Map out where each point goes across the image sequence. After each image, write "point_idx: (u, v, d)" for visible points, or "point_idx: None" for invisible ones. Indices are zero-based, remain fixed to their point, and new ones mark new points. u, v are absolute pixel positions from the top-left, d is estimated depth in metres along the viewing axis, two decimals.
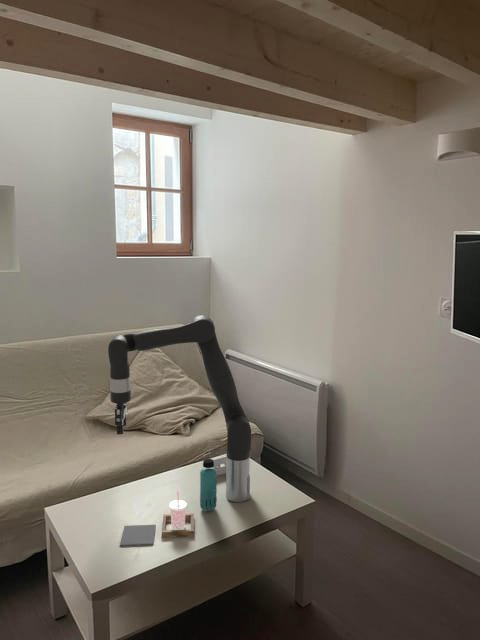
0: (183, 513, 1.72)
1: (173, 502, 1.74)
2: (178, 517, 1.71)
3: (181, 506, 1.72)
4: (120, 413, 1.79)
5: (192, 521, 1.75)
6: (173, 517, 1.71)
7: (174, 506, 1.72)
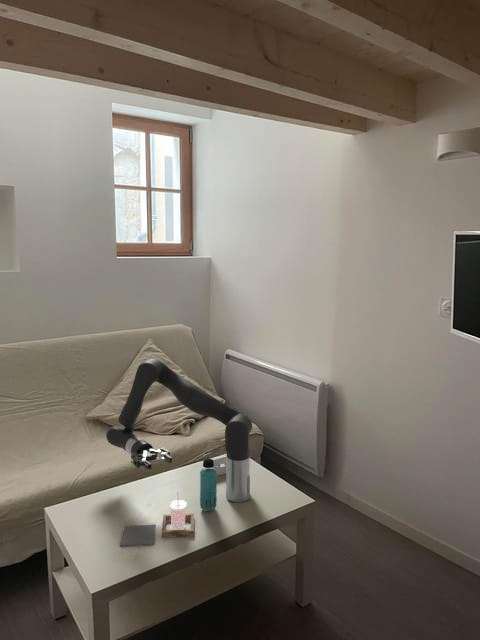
0: (183, 513, 1.72)
1: (173, 502, 1.74)
2: (178, 517, 1.71)
3: (181, 506, 1.72)
4: (132, 458, 1.81)
5: (192, 521, 1.75)
6: (173, 517, 1.71)
7: (174, 506, 1.72)
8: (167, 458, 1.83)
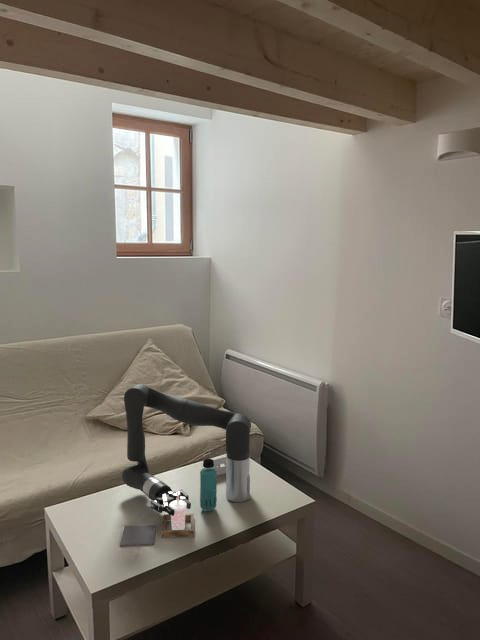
0: (183, 513, 1.72)
1: (173, 502, 1.74)
2: (178, 517, 1.71)
3: (181, 506, 1.72)
4: (152, 503, 1.73)
5: (192, 521, 1.75)
6: (173, 517, 1.71)
7: (174, 506, 1.72)
8: None
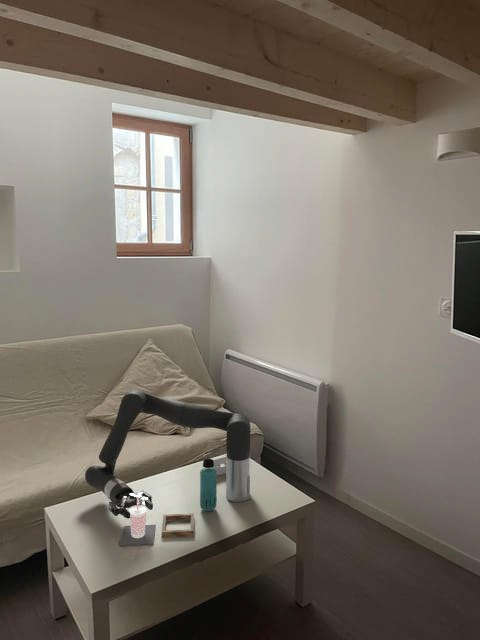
0: (143, 519, 1.66)
1: (133, 508, 1.69)
2: (137, 523, 1.66)
3: (141, 512, 1.66)
4: (109, 505, 1.68)
5: (192, 521, 1.75)
6: (132, 523, 1.66)
7: (133, 512, 1.66)
8: (148, 504, 1.70)
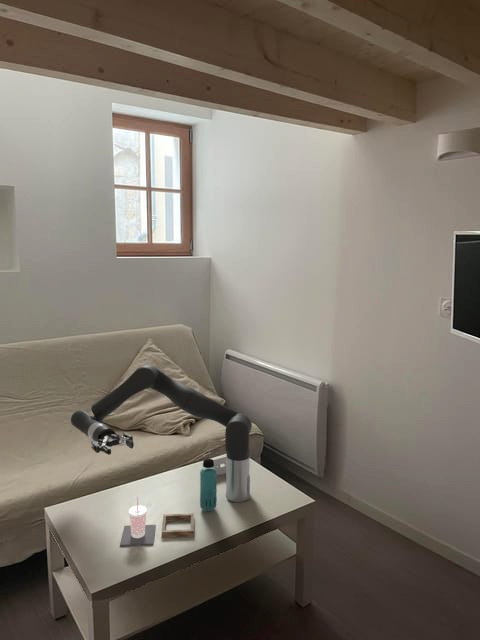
0: (143, 519, 1.66)
1: (133, 508, 1.69)
2: (137, 523, 1.66)
3: (141, 512, 1.66)
4: (92, 443, 1.75)
5: (192, 521, 1.75)
6: (132, 523, 1.66)
7: (133, 512, 1.66)
8: (129, 443, 1.76)
